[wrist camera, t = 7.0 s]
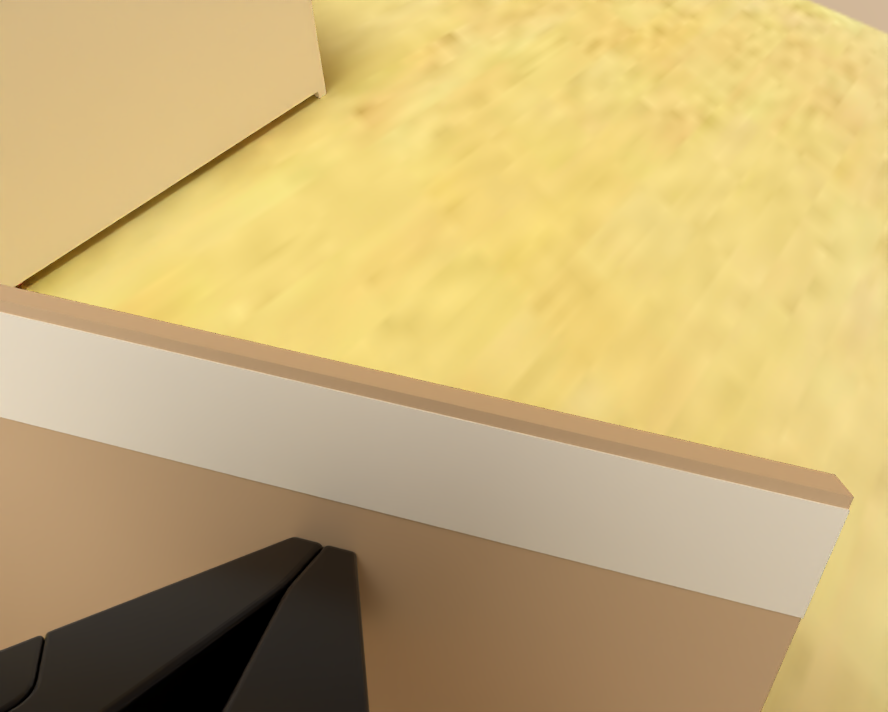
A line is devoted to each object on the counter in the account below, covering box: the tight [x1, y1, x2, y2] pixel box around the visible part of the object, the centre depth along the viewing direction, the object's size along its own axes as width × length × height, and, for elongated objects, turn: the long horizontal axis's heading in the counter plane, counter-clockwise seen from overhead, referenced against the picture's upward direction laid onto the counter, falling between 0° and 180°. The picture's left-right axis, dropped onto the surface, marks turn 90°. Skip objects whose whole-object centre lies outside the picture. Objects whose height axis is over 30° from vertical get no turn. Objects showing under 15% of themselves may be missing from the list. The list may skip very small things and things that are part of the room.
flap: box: [0, 284, 854, 712], centre depth 9 cm, size 10×11×1 cm
